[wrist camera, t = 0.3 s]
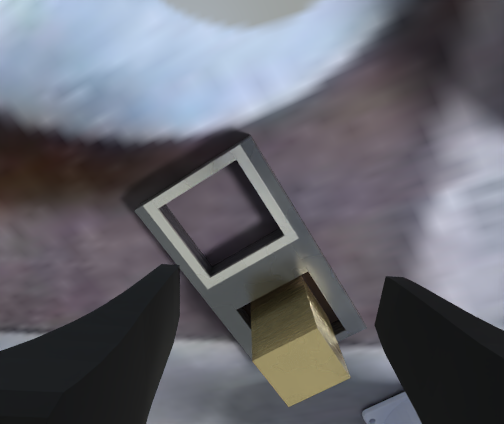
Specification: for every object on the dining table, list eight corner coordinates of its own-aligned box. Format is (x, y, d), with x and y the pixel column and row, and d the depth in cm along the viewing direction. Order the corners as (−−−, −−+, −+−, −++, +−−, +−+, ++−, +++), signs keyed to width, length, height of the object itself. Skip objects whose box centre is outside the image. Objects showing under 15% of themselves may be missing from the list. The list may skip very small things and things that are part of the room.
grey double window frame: (361, 316, 24) (368, 329, 22) (264, 364, 25) (266, 379, 24) (250, 134, 19) (250, 137, 18) (140, 204, 21) (133, 211, 19)
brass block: (327, 315, 24) (350, 377, 19) (279, 340, 24) (288, 407, 19) (300, 274, 23) (317, 328, 17) (250, 301, 23) (252, 361, 18)
